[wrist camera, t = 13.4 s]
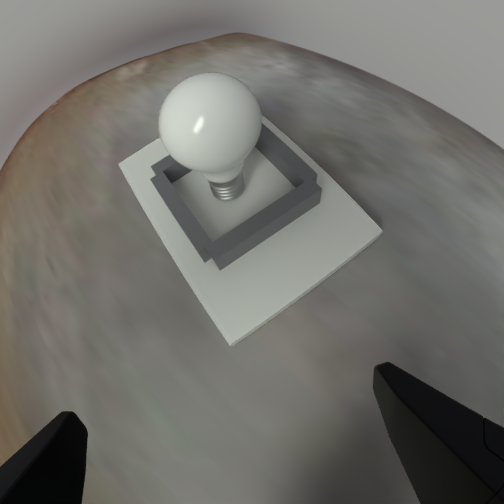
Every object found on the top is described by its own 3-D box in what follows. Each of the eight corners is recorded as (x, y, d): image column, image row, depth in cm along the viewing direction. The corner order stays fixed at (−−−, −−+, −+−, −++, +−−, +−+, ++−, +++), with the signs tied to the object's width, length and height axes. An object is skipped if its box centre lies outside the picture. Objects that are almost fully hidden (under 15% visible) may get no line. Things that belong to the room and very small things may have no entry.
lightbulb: (207, 156, 27) (174, 53, 17) (277, 168, 26) (270, 56, 16) (179, 217, 25) (123, 118, 15) (255, 234, 24) (234, 126, 14)
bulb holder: (379, 236, 24) (390, 218, 21) (231, 346, 22) (224, 341, 19) (239, 101, 31) (235, 80, 29) (122, 170, 29) (109, 151, 26)
